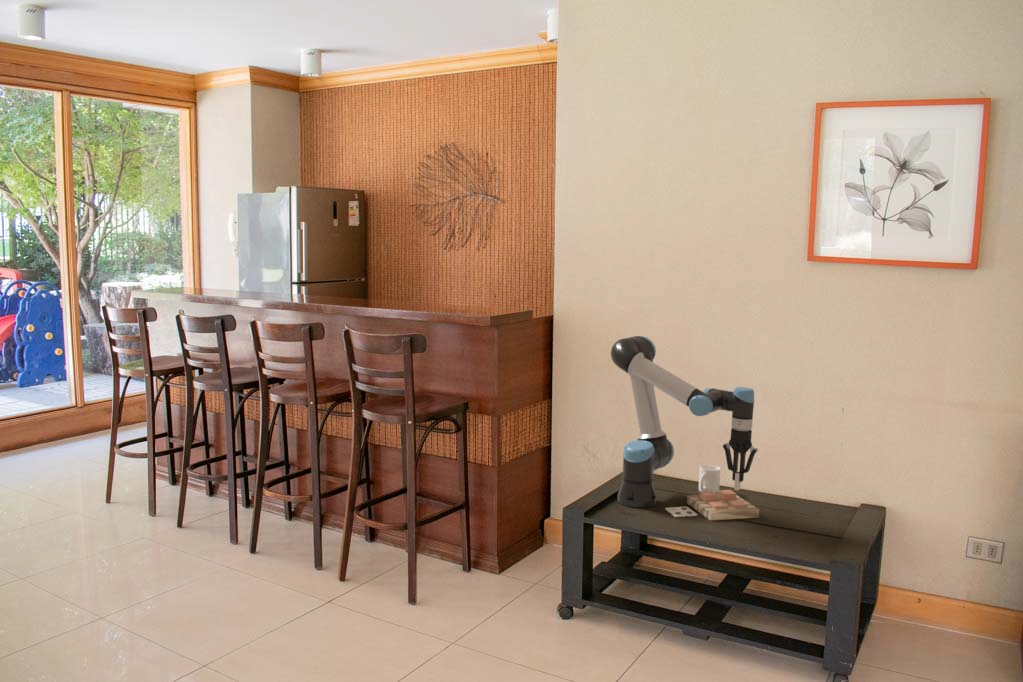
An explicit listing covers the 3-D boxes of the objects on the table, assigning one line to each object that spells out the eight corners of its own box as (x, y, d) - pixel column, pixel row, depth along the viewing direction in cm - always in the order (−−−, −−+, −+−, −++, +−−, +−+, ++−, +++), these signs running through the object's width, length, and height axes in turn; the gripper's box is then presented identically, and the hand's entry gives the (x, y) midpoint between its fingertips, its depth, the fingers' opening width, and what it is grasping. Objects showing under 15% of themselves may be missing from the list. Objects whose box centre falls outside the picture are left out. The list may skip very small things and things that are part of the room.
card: (665, 509, 316) (665, 507, 316) (686, 508, 318) (687, 506, 318) (675, 517, 308) (675, 515, 308) (697, 515, 310) (697, 513, 310)
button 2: (708, 511, 314) (708, 502, 313) (720, 510, 315) (720, 501, 315) (714, 515, 309) (714, 506, 309) (726, 514, 310) (727, 505, 310)
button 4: (727, 509, 316) (728, 500, 315) (739, 509, 317) (739, 500, 316) (733, 514, 311) (734, 505, 310) (745, 513, 312) (746, 504, 312)
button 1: (699, 500, 321) (699, 491, 321) (711, 499, 323) (711, 490, 322) (705, 504, 317) (705, 495, 316) (716, 503, 318) (717, 494, 317)
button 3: (718, 499, 323) (718, 490, 323) (729, 498, 324) (730, 489, 324) (724, 503, 318) (724, 494, 318) (735, 502, 320) (736, 493, 319)
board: (686, 503, 324) (687, 495, 324) (733, 500, 329) (733, 493, 328) (710, 520, 305) (710, 512, 305) (759, 517, 310) (759, 509, 309)
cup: (722, 491, 340) (723, 467, 339) (710, 498, 331) (711, 473, 330) (703, 487, 345) (705, 463, 344) (691, 494, 336) (692, 469, 335)
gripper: (721, 427, 310) (717, 488, 313) (756, 433, 303) (751, 495, 306) (727, 424, 316) (723, 483, 320) (761, 429, 309) (757, 490, 313)
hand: (737, 489), depth 313 cm, fingers closed
